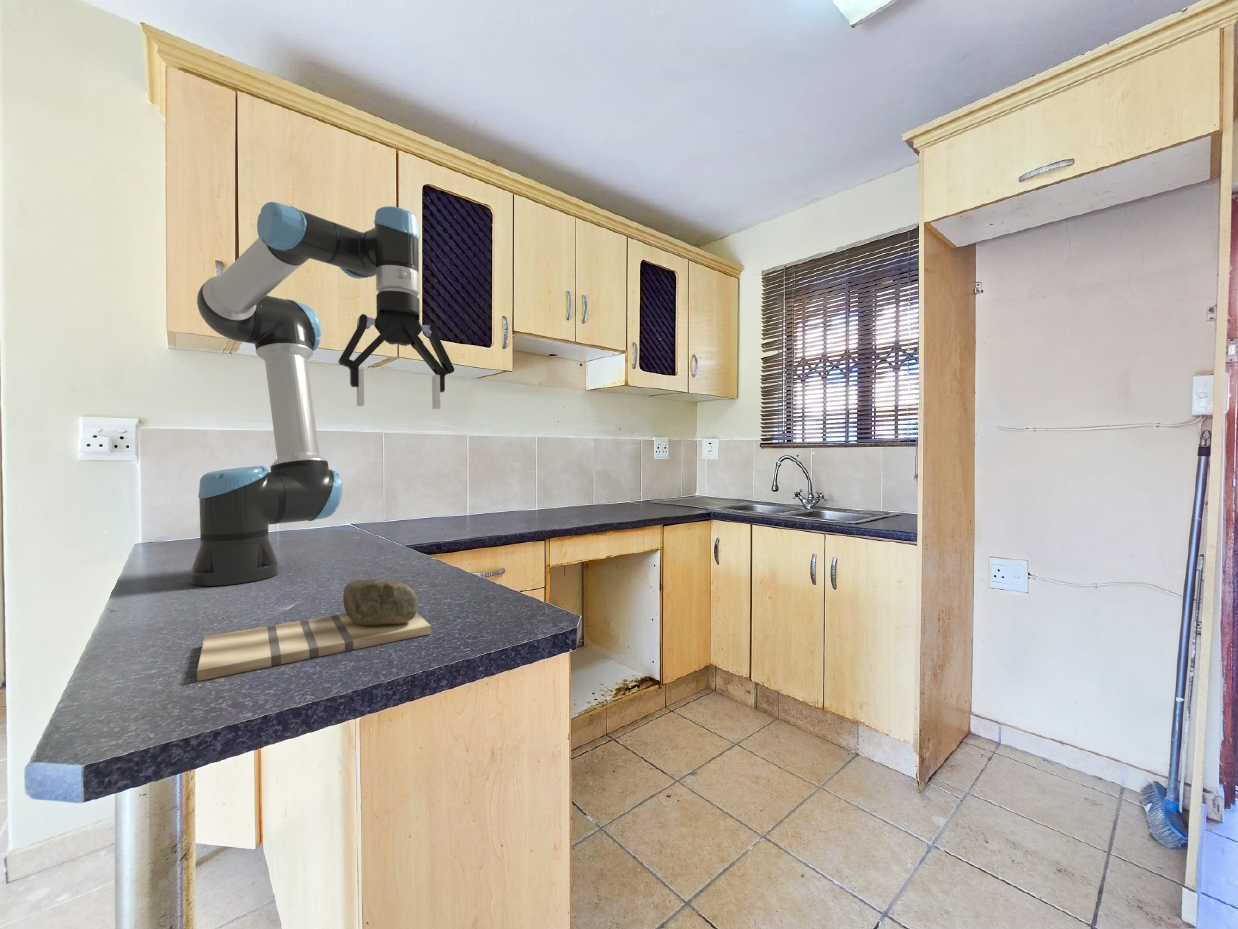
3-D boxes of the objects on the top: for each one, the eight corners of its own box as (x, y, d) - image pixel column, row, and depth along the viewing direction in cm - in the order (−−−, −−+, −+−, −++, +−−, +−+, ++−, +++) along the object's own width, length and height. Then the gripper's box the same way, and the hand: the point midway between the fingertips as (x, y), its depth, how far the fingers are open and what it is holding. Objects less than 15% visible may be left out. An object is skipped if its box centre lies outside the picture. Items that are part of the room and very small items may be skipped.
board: (204, 645, 71) (204, 636, 71) (406, 610, 86) (406, 603, 86) (197, 681, 59) (197, 670, 59) (431, 634, 74) (430, 625, 74)
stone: (360, 630, 68) (345, 559, 72) (346, 653, 79) (333, 590, 82) (427, 612, 74) (410, 547, 77) (406, 636, 84) (391, 577, 87)
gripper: (325, 276, 88) (327, 402, 89) (469, 300, 103) (471, 408, 103) (320, 288, 95) (322, 405, 95) (456, 309, 109) (458, 411, 109)
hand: (399, 407), depth 99 cm, fingers open, 13 cm apart
